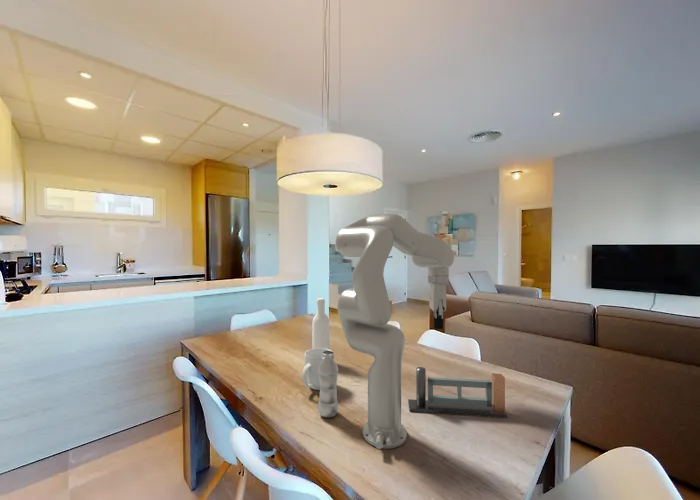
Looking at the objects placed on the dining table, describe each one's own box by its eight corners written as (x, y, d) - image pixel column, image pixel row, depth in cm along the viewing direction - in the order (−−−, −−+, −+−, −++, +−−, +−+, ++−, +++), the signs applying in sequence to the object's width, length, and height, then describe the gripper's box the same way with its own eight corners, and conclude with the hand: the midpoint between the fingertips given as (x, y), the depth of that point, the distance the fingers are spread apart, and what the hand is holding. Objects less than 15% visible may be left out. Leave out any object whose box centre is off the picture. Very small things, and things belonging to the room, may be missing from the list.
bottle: (311, 360, 141) (311, 297, 141) (327, 359, 143) (327, 297, 143) (313, 367, 133) (313, 300, 133) (330, 365, 135) (330, 299, 135)
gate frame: (506, 417, 93) (506, 376, 93) (409, 411, 96) (409, 371, 96) (499, 407, 99) (499, 368, 99) (408, 402, 102) (408, 364, 102)
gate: (428, 403, 98) (428, 379, 98) (427, 400, 99) (427, 377, 99) (491, 407, 95) (491, 382, 95) (490, 404, 97) (490, 380, 97)
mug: (315, 400, 104) (315, 363, 104) (291, 393, 109) (291, 357, 109) (338, 383, 117) (338, 350, 117) (315, 377, 122) (315, 346, 122)
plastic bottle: (327, 407, 99) (327, 347, 99) (342, 414, 95) (342, 352, 95) (313, 415, 94) (313, 353, 94) (329, 423, 90) (328, 357, 90)
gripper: (425, 277, 120) (425, 323, 120) (430, 281, 105) (431, 333, 105) (444, 278, 119) (444, 323, 119) (452, 282, 104) (452, 334, 104)
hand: (438, 328), depth 112 cm, fingers closed
